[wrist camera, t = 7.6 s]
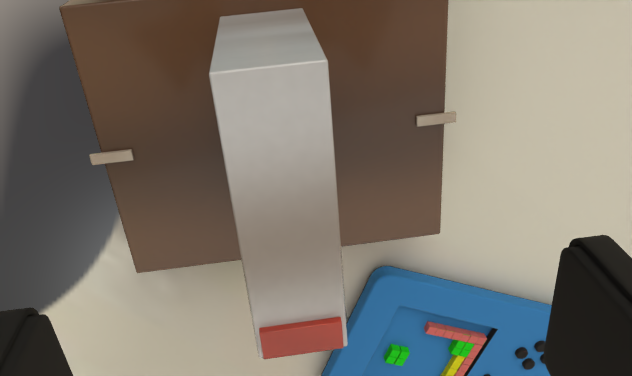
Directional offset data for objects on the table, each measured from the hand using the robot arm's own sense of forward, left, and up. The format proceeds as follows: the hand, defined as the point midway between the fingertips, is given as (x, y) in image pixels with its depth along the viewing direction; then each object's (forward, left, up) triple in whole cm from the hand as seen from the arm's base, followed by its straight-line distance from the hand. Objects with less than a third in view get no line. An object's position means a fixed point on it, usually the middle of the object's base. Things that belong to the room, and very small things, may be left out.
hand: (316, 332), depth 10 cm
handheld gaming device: (+15, +9, -13) cm, 22 cm away
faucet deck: (0, 0, -13) cm, 13 cm away
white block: (0, 0, -10) cm, 10 cm away
